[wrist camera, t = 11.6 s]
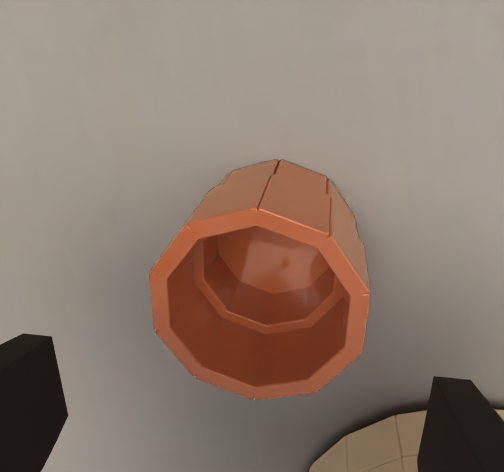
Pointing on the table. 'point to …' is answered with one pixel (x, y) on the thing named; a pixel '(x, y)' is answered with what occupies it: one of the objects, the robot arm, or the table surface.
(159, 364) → the table surface
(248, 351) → the terracotta pot
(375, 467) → the cream bowl
